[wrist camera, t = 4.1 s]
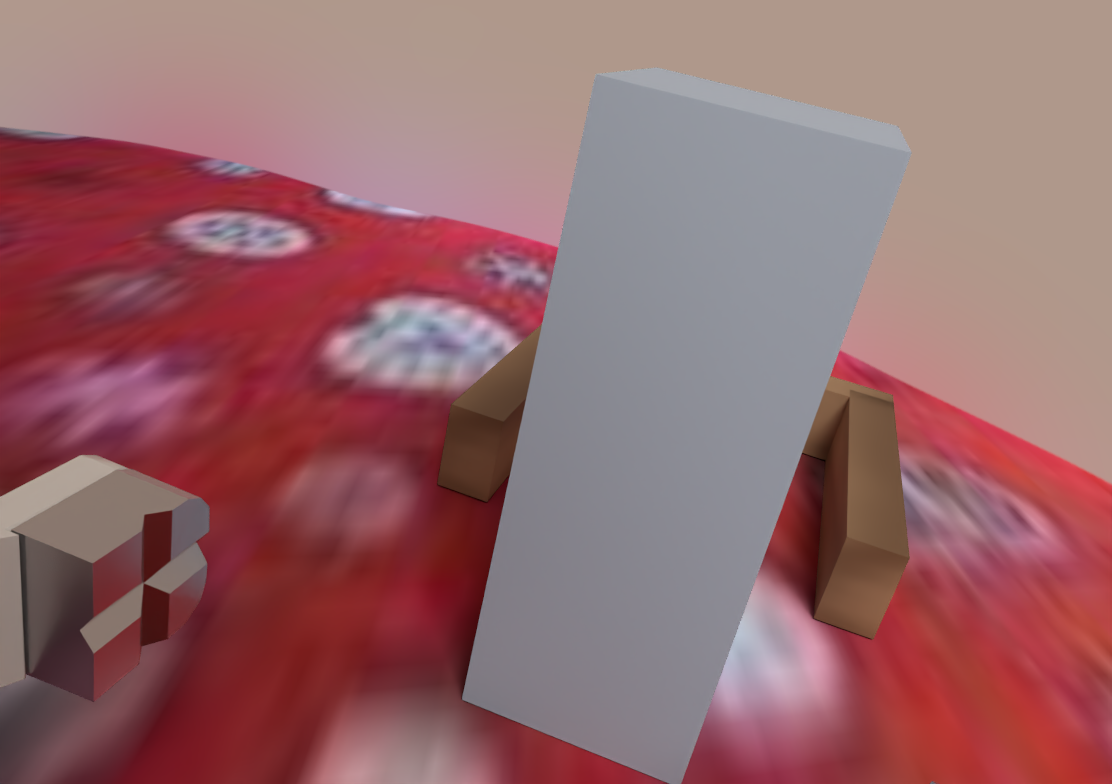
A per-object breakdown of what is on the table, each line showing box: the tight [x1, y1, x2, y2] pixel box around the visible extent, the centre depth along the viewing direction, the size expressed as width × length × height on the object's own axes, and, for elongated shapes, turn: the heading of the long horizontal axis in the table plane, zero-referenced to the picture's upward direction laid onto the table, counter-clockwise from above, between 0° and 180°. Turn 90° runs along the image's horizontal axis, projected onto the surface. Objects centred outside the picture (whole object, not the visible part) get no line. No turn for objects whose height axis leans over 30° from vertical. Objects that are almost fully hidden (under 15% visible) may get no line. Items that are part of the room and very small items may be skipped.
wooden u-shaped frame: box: [437, 324, 910, 639], centre depth 28 cm, size 12×11×2 cm
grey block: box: [462, 68, 911, 784], centre depth 17 cm, size 4×4×12 cm
